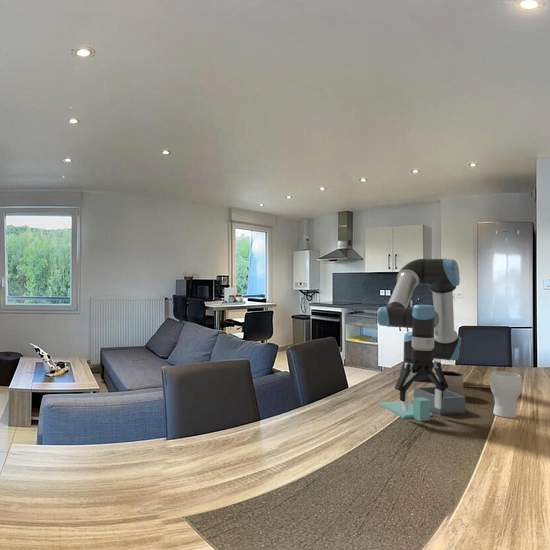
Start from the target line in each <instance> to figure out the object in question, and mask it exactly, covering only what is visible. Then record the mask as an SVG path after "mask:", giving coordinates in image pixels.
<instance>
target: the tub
mask: <svg viewBox="0 0 550 550" xmlns="http://www.w3.org/2000/svg"><path fill="white" fill-rule="evenodd" d="M435 389H438V388H437V387H436V386H435V385H433V386H422V387H420V386H419V387H417V386H416V387H413V398H419V397H424V398H426V399H428V400H430V412H431V413H432V412H433V413H435V414H437V415H438V416H444V415H445V416H446V415H456V414H457V415H458V414H465V413H466V396H465V395H463V396H462V395H459V394H457V393H454V392H451V391H449V390H446V389H445V391H443V399H441V409H438V408H436V407H434V405H435Z"/></svg>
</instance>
